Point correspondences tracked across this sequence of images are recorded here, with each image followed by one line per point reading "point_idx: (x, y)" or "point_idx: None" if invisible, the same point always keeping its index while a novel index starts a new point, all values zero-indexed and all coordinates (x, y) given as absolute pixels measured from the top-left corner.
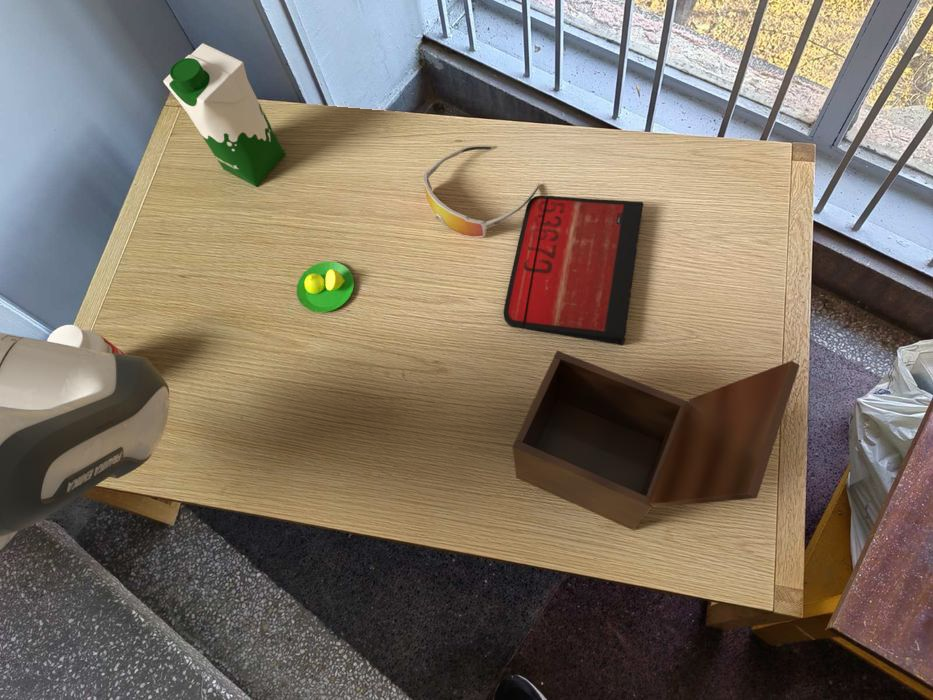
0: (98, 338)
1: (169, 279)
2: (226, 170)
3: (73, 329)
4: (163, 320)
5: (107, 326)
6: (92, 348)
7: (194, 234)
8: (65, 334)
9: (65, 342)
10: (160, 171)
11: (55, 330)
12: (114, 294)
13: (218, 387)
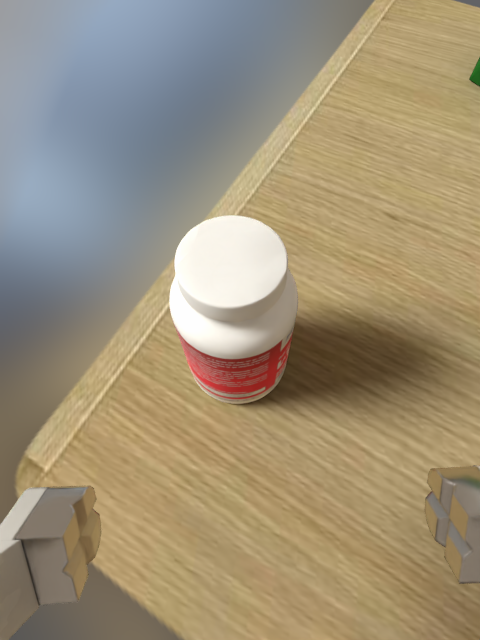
0: (293, 280)
1: (365, 213)
2: (476, 81)
3: (262, 234)
4: (348, 282)
5: None
6: (279, 302)
7: (415, 156)
8: (237, 240)
9: (234, 261)
10: (361, 56)
11: (211, 220)
12: (261, 205)
13: None
